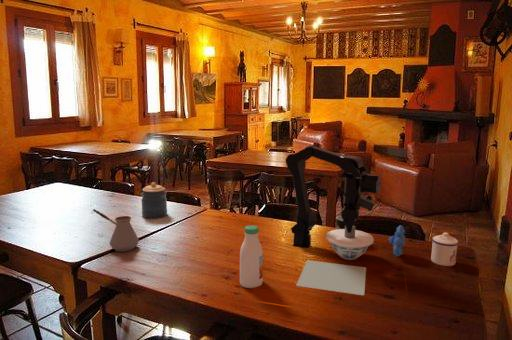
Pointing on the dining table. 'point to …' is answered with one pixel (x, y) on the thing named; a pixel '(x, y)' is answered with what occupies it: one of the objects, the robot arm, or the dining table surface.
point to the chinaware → (348, 251)
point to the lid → (349, 238)
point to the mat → (333, 277)
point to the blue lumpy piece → (398, 240)
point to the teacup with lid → (444, 250)
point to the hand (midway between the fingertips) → (350, 228)
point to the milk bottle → (251, 259)
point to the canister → (154, 201)
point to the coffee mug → (341, 222)
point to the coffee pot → (122, 233)
